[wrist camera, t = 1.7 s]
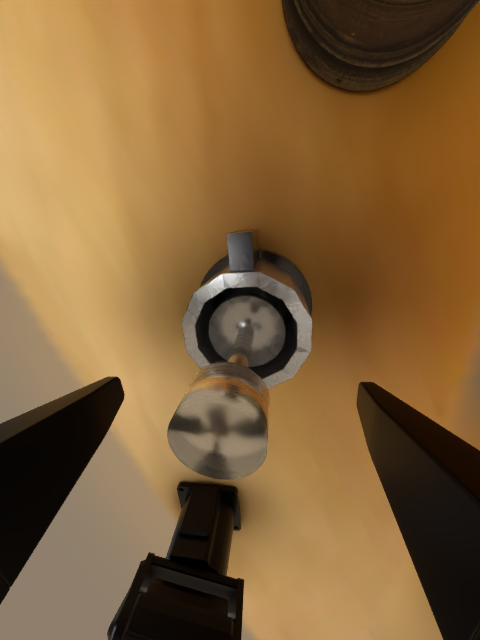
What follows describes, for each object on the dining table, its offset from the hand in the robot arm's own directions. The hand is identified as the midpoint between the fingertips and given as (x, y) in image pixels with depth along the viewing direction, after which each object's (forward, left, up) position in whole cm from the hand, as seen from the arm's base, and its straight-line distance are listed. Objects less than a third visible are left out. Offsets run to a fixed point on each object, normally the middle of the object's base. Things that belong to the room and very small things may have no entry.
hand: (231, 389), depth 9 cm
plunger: (0, 0, -5) cm, 5 cm away
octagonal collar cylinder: (0, 0, -10) cm, 10 cm away
